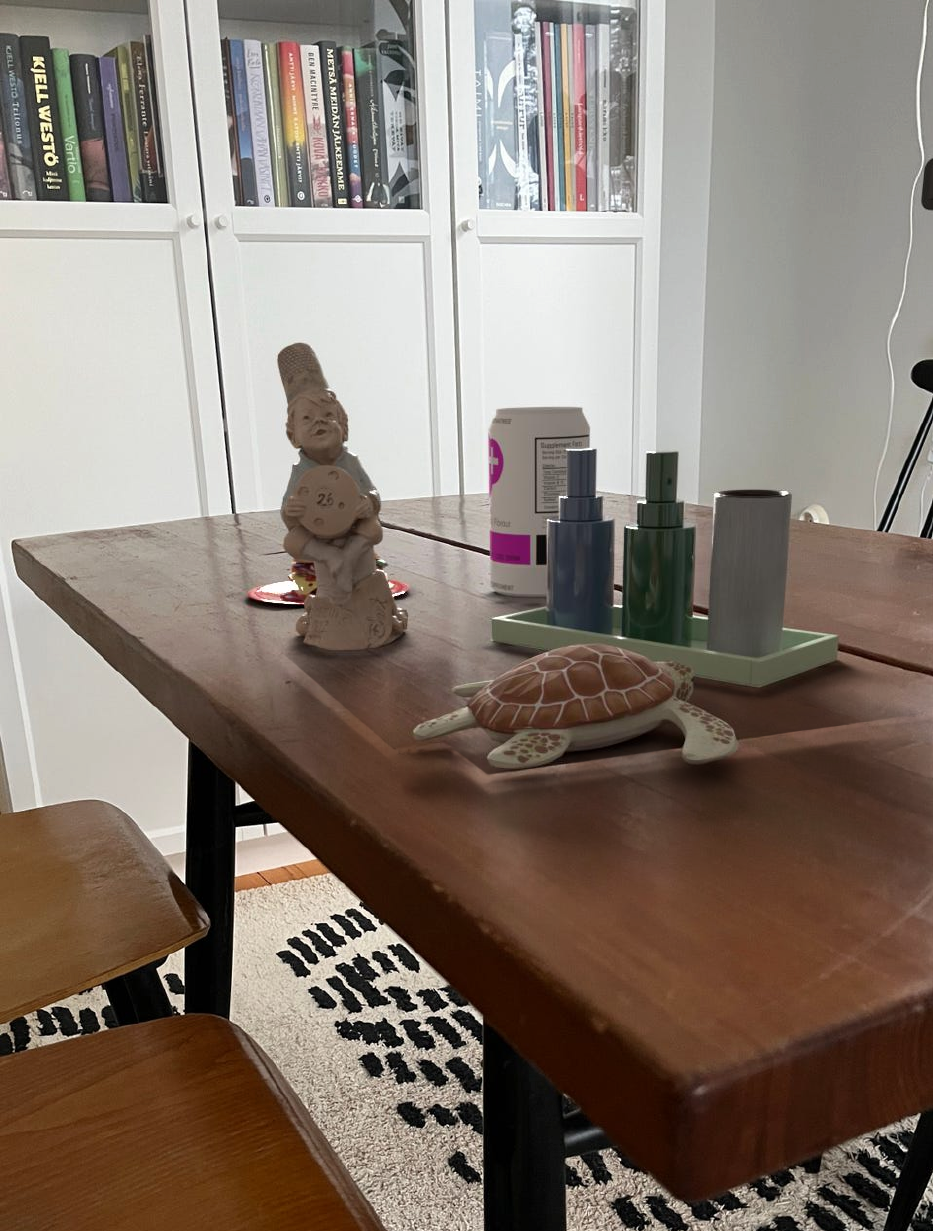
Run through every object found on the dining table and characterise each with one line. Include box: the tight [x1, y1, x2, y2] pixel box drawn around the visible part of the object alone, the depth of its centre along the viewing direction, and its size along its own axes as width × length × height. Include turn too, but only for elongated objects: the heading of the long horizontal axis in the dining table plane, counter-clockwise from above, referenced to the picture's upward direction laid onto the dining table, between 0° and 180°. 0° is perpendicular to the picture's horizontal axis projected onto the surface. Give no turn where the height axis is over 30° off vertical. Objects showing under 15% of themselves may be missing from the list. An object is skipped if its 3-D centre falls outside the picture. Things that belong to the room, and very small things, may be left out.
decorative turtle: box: [412, 644, 740, 770], centre depth 62 cm, size 18×17×5 cm
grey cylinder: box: [707, 488, 793, 659], centre depth 75 cm, size 4×4×10 cm
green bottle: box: [621, 449, 698, 648], centre depth 79 cm, size 5×5×12 cm
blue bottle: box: [546, 447, 616, 635], centre depth 83 cm, size 5×5×12 cm
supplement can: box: [487, 406, 591, 598], centre depth 101 cm, size 8×8×15 cm
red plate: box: [247, 549, 410, 605], centre depth 106 cm, size 14×14×6 cm
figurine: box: [276, 341, 409, 651], centre depth 83 cm, size 9×8×20 cm
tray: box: [491, 604, 840, 688], centre depth 81 cm, size 21×9×2 cm, turn 46°
